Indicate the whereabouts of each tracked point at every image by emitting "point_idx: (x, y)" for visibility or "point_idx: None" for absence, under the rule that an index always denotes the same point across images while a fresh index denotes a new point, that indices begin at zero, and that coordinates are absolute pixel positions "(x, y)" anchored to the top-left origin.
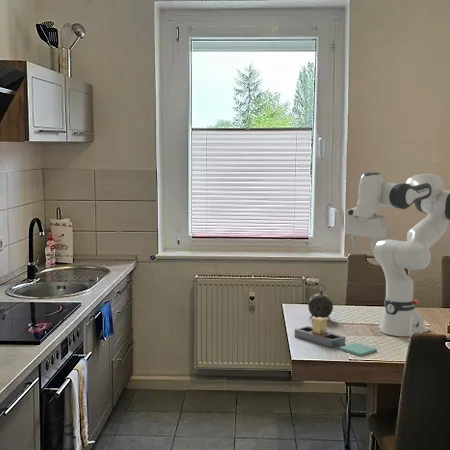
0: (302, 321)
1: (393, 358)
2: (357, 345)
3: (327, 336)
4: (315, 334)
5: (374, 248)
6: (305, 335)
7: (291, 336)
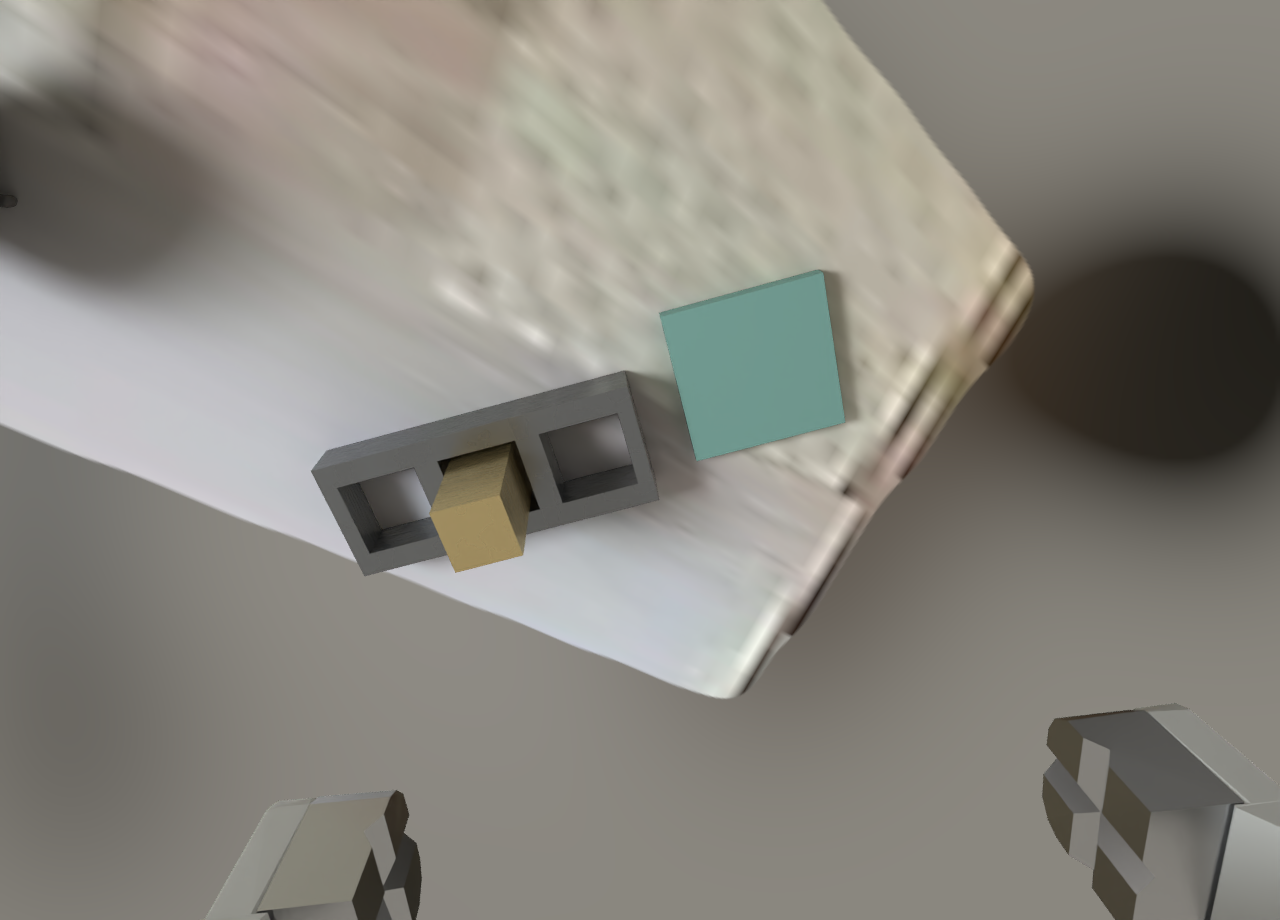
0: (14, 336)
1: (965, 260)
2: (714, 346)
3: (550, 463)
4: None
5: (1201, 724)
6: None
7: None
